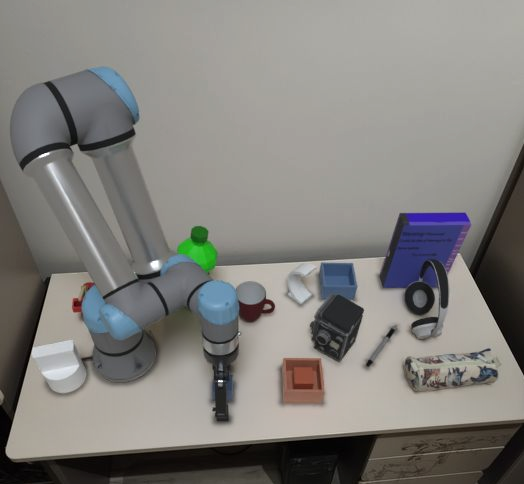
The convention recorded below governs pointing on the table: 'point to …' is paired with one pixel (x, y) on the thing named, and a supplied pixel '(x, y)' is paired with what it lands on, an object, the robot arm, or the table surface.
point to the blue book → (422, 246)
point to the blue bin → (337, 280)
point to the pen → (381, 346)
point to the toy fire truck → (81, 297)
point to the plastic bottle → (199, 248)
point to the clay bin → (302, 394)
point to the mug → (252, 301)
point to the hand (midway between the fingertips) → (224, 393)
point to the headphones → (428, 301)
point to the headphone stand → (299, 282)
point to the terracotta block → (302, 378)
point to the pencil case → (451, 370)
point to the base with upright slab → (60, 365)
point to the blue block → (229, 388)
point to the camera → (336, 326)
